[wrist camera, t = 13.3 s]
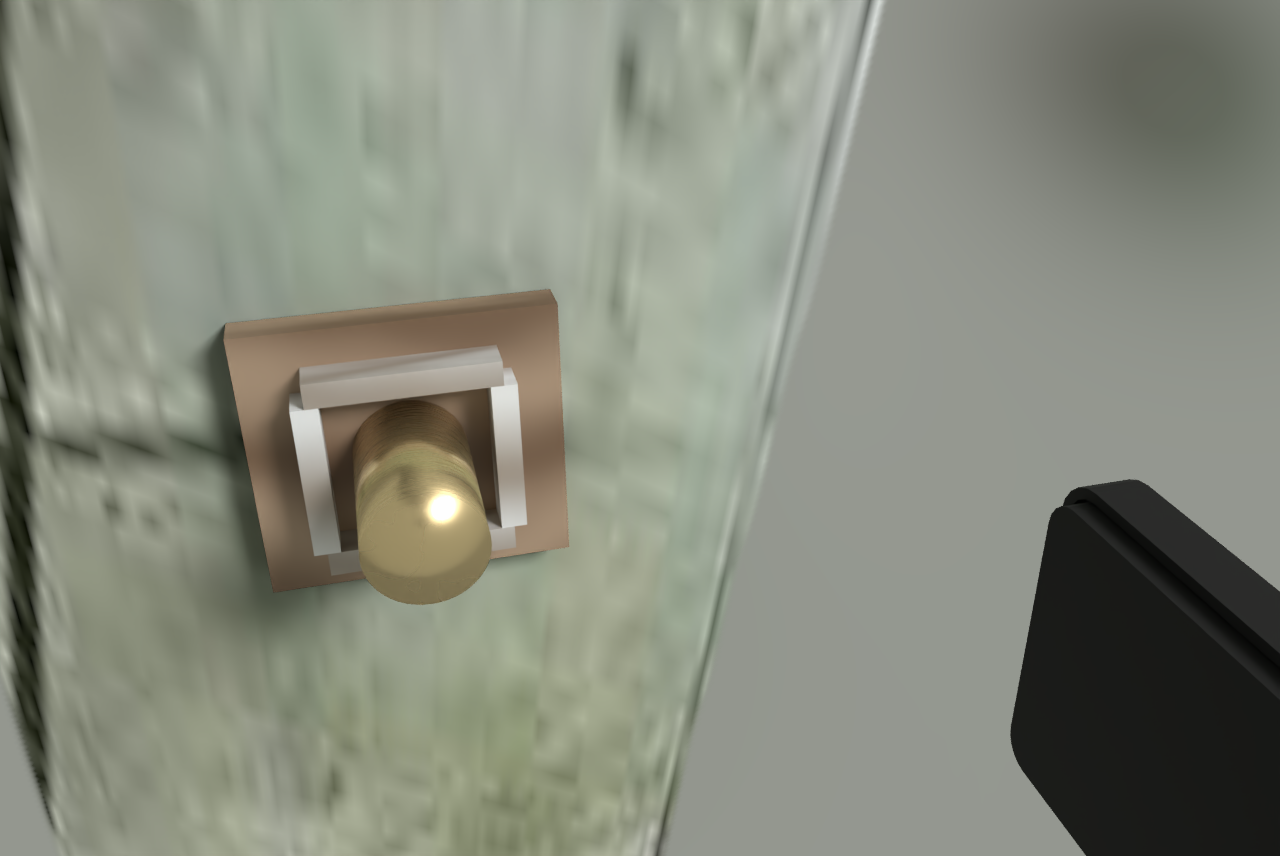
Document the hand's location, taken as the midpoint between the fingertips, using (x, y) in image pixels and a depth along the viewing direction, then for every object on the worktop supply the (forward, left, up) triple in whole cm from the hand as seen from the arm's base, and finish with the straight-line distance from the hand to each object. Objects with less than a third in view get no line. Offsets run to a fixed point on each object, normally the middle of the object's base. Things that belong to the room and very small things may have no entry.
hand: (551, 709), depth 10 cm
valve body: (+15, 0, -33) cm, 36 cm away
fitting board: (+16, 0, -34) cm, 38 cm away
